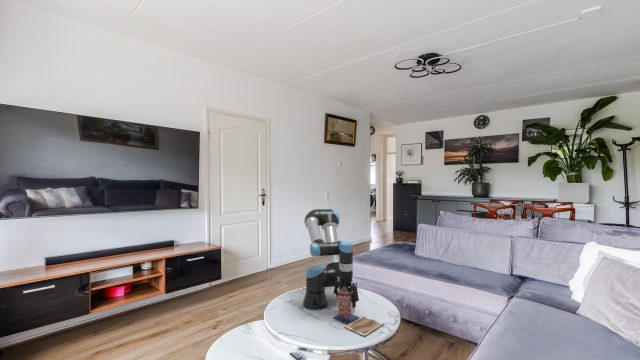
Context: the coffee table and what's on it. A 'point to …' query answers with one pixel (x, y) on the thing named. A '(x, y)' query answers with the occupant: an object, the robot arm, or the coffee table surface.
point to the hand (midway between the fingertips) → (345, 310)
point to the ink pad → (346, 319)
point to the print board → (364, 326)
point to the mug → (344, 302)
